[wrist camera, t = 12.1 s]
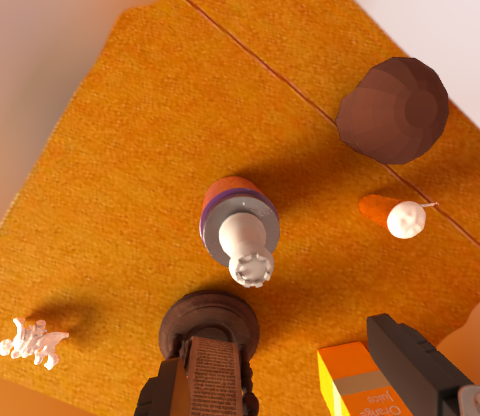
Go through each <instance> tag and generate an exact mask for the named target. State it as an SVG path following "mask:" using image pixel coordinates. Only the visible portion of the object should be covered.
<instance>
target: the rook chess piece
mask: <svg viewBox="0 0 480 416" xmlns="http://www.w3.org/2000/svg"><path fill="white" fill-rule="evenodd" d="M219 240H220V243H221V246H222V248H223V251H224V252H226V253H227V254H228V255H229V256H230V257H231V259H230V261H229V271H230V273H231V275H232V278H234V279H235V280H236V281H237V282H238V283H240V284H242V285H243V286H244V287H247V288H250V286H256V288H258V287H261V286H263V284H262V283H263V282H265V281H266V280H267V281H268V280H269V279H270V277H271V273H272V272H273V270H274V260H273V257H272V254H271V253H270V252H269V251H268V250H267V249H266V248H265V247H264V246H265V244H266V232H265V229H264V226H263V223H262V222H261V221H260V220H259V219H258V218H257V217H256V216H254V215H252V214H249V213H237V214H234V215H231V216H229V217H228V218H227V219H226V220H225V221H224V222H223V224H222V226H221V228H220V230H219Z"/></svg>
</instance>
